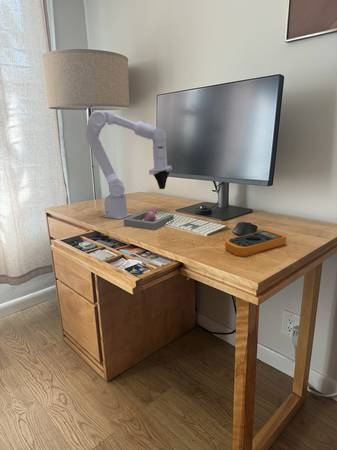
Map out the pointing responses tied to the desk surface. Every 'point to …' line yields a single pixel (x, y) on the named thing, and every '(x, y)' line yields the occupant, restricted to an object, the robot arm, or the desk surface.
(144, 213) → the tray
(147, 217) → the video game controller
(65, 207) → the desk surface
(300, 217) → the desk surface
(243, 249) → the multimeter
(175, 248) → the desk surface
